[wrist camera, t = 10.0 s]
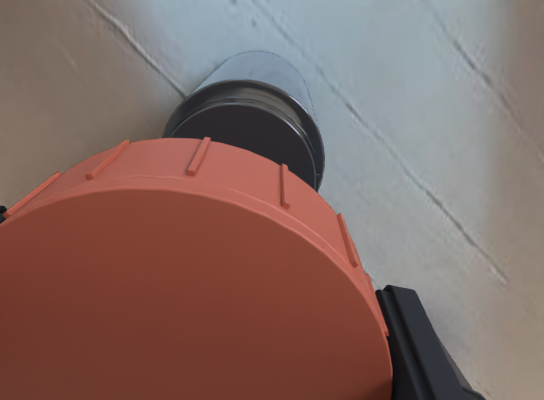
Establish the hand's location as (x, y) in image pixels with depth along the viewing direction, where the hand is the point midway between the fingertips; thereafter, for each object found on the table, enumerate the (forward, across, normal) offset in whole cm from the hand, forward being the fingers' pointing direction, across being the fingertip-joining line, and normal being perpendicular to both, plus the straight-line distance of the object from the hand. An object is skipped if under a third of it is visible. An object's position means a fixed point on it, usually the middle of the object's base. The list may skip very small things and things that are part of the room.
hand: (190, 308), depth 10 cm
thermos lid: (-2, 0, 0) cm, 2 cm away
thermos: (+22, 0, 0) cm, 22 cm away
